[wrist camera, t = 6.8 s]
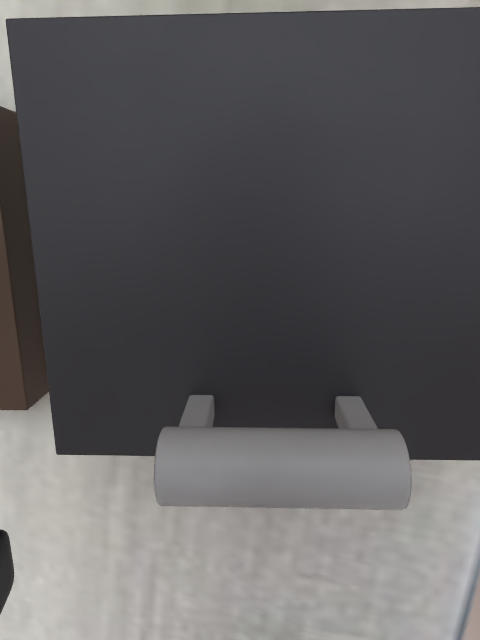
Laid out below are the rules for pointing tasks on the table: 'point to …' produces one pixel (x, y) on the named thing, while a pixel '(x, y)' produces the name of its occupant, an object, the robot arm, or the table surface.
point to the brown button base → (17, 283)
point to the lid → (258, 246)
